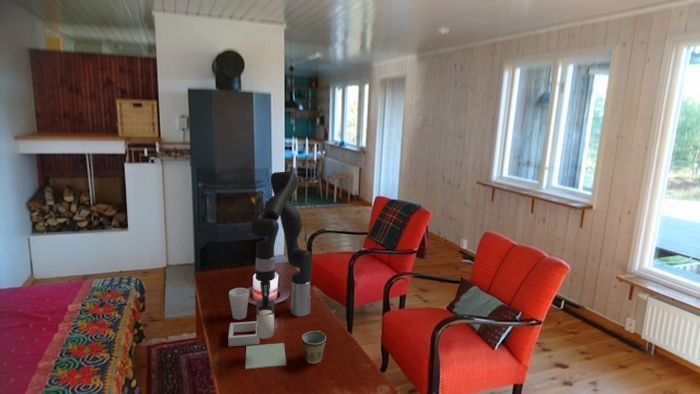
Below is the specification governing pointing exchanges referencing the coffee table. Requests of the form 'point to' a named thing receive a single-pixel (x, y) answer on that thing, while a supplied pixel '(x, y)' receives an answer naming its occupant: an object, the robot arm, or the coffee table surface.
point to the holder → (243, 339)
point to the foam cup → (239, 302)
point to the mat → (265, 356)
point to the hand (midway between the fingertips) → (265, 307)
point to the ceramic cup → (313, 346)
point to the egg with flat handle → (265, 320)
